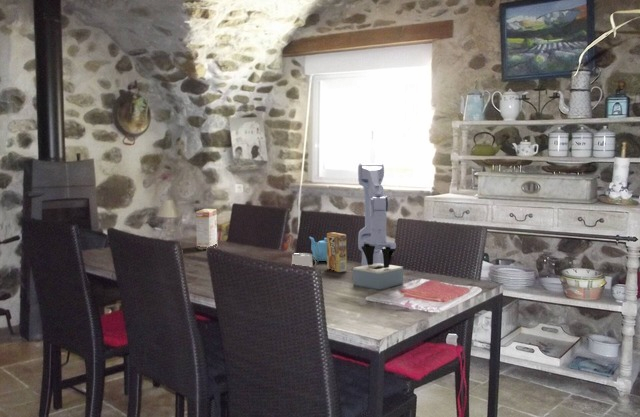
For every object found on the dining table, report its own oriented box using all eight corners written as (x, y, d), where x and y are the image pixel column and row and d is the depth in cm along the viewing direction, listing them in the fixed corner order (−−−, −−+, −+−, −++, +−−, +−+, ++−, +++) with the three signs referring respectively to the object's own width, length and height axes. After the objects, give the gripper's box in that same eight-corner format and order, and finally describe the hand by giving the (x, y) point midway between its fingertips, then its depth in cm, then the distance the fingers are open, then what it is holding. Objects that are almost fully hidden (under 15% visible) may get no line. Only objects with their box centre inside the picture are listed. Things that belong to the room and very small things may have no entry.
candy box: (347, 271, 252) (347, 234, 250) (338, 272, 249) (338, 235, 248) (334, 268, 259) (334, 232, 258) (326, 269, 257) (326, 232, 255)
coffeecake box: (204, 245, 322) (203, 208, 320) (217, 245, 321) (217, 208, 319) (196, 250, 307) (195, 211, 305) (209, 250, 306) (209, 211, 304)
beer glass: (291, 297, 207) (291, 253, 206) (312, 296, 208) (311, 252, 206) (292, 302, 200) (291, 256, 199) (313, 301, 201) (313, 256, 200)
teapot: (340, 257, 286) (340, 235, 285) (346, 262, 271) (346, 239, 270) (309, 258, 284) (308, 236, 283) (313, 263, 269) (313, 240, 268)
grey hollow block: (377, 279, 235) (377, 262, 235) (402, 284, 227) (402, 266, 226) (353, 285, 225) (353, 267, 225) (378, 290, 217) (379, 272, 216)
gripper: (356, 228, 227) (356, 265, 228) (387, 232, 216) (387, 270, 218) (368, 227, 232) (368, 262, 233) (399, 230, 222) (399, 267, 223)
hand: (378, 266), depth 226 cm, fingers open, 7 cm apart
